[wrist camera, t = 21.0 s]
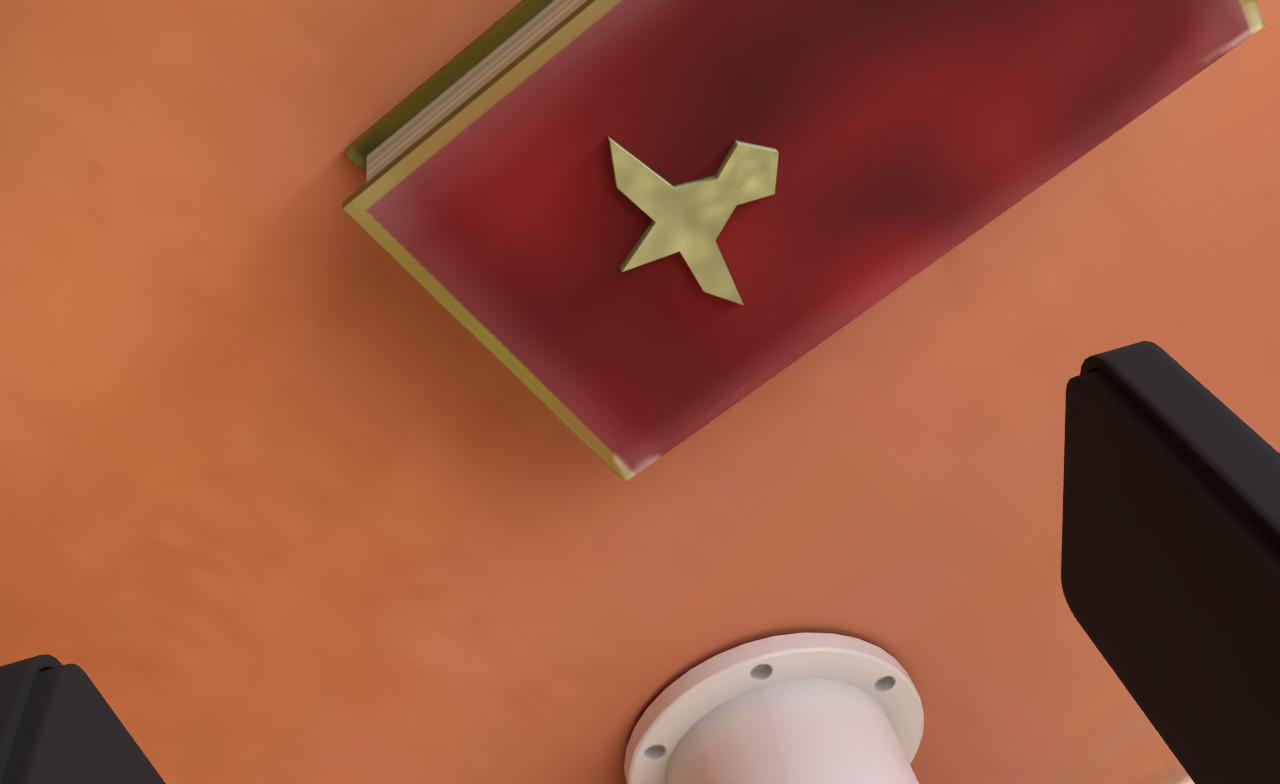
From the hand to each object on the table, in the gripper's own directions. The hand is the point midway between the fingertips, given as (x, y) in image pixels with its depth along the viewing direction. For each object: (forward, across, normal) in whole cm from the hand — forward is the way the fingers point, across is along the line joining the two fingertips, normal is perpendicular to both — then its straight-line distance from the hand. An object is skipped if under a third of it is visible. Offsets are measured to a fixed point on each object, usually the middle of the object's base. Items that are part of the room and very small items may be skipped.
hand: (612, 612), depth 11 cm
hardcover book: (+22, -8, +4) cm, 24 cm away
